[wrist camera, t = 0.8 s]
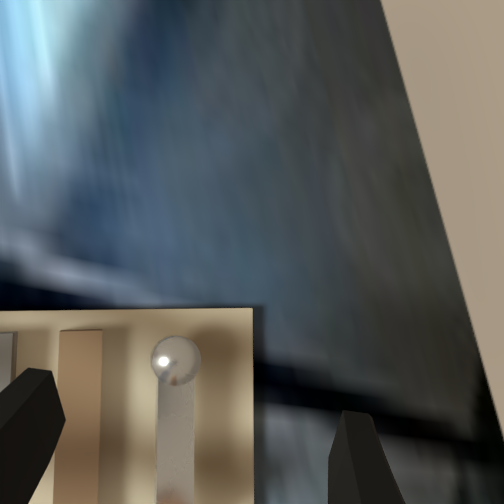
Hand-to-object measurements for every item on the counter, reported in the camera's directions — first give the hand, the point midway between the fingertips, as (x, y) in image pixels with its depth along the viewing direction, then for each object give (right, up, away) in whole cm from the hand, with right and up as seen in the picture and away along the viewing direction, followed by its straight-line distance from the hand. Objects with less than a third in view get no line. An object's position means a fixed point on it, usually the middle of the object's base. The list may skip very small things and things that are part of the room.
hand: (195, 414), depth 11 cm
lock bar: (-3, -5, +11) cm, 13 cm away
